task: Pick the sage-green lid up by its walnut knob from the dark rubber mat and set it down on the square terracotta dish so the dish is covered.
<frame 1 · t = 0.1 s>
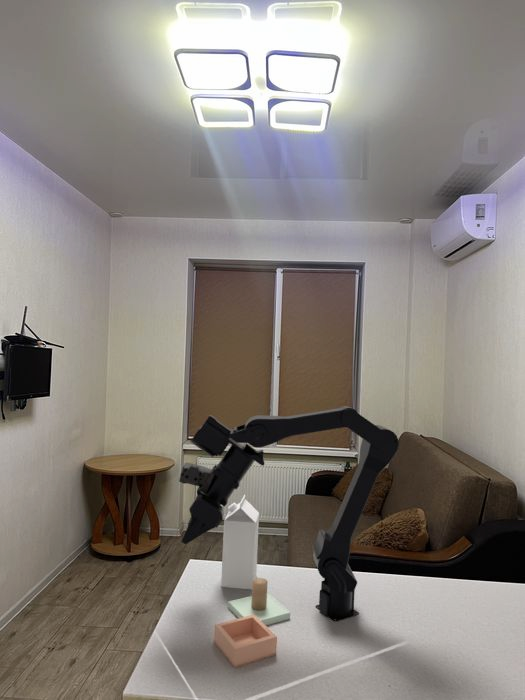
hand: (186, 534, 98), 15 cm above the table, tool tilted 30°, fingers open, 9 cm apart
mat: (258, 615, 96), on the table
lid: (258, 612, 96), resting on mat
milk carton: (239, 583, 109), on the table
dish: (244, 650, 84), on the table
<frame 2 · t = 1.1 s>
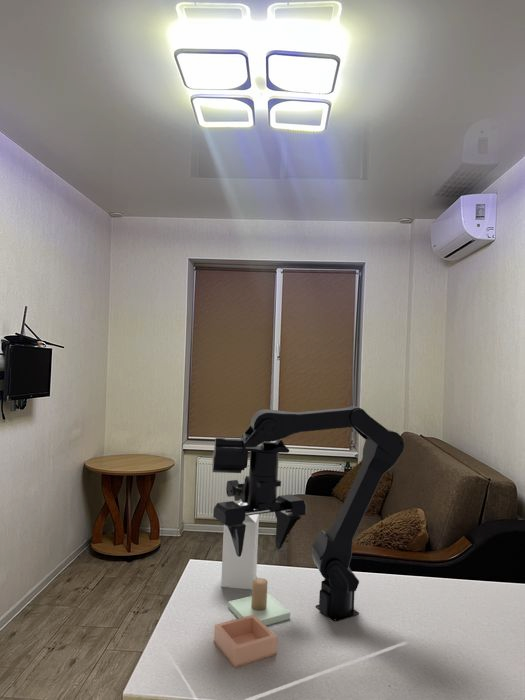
hand: (258, 552, 96), 12 cm above the table, tool pointing down, fingers open, 9 cm apart
nothing on the table moved.
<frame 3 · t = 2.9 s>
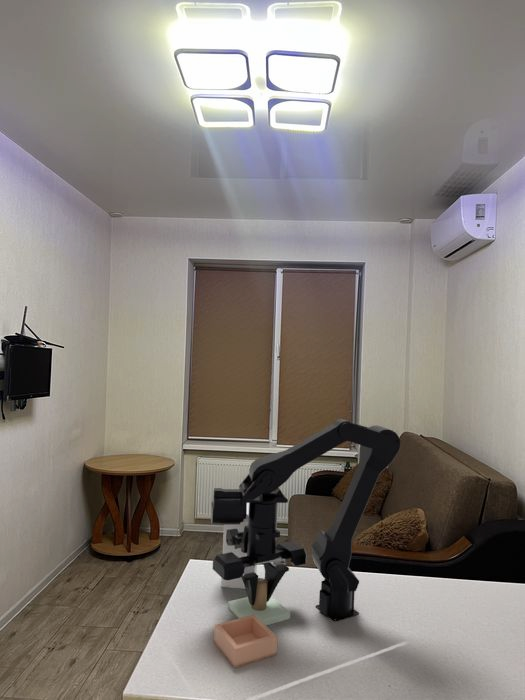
hand: (259, 602, 96), 3 cm above the table, tool pointing down, fingers closed on lid, 3 cm apart
lid: (258, 612, 96), resting on mat, touching gripper
everything else where it was.
when the fingers open (7 cm above the table, at t = 5.7 s): lid drops 1 cm, resting on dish.
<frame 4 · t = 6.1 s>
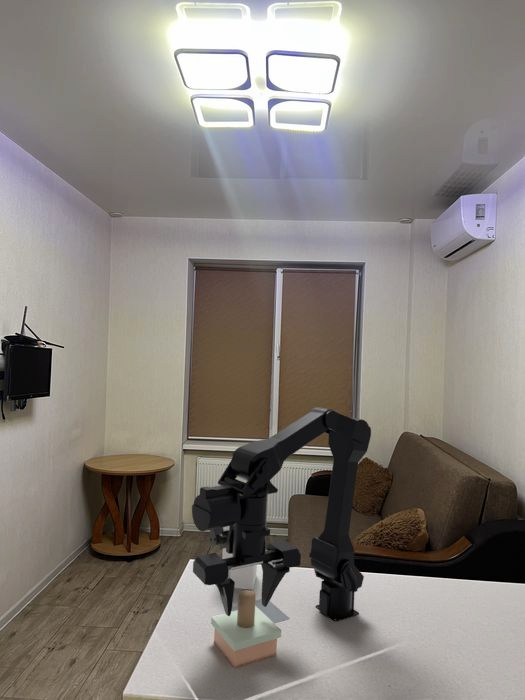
hand: (246, 610, 84), 7 cm above the table, tool pointing down, fingers open, 7 cm apart
lid: (245, 630, 84), point 3 cm above the table, touching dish
everything else where it was.
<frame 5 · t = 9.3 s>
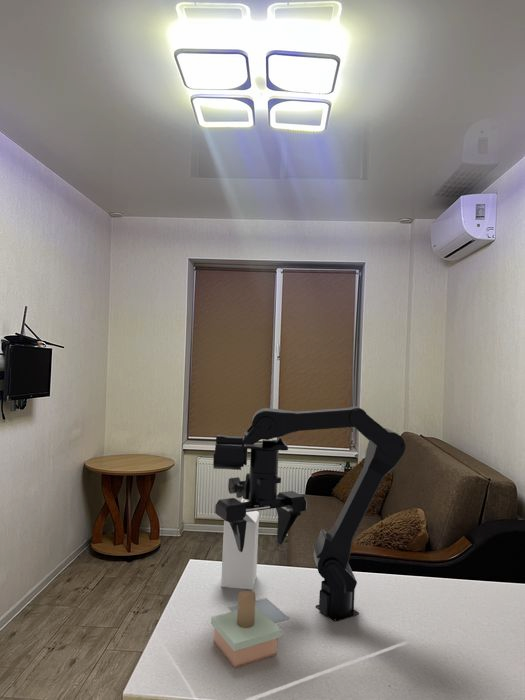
hand: (260, 547, 98), 13 cm above the table, tool pointing down, fingers open, 9 cm apart
nothing on the table moved.
at the end: lid 0.1 cm off-centre on the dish, point 3.5 cm above the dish's base; lid tilted 0°; the gripper is holding nothing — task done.
